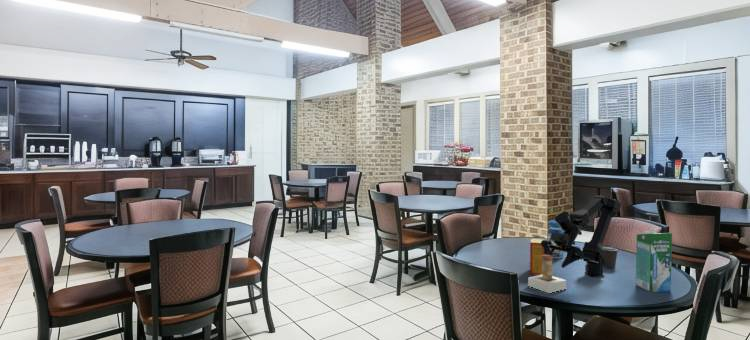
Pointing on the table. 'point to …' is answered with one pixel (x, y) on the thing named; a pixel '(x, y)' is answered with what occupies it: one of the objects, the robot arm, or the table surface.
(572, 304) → the table surface
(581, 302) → the table surface
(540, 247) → the baking soda box
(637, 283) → the milk carton
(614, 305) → the table surface
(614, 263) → the coffee cup
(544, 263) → the tan cylindrical container
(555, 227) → the beverage bottle
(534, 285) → the socket
